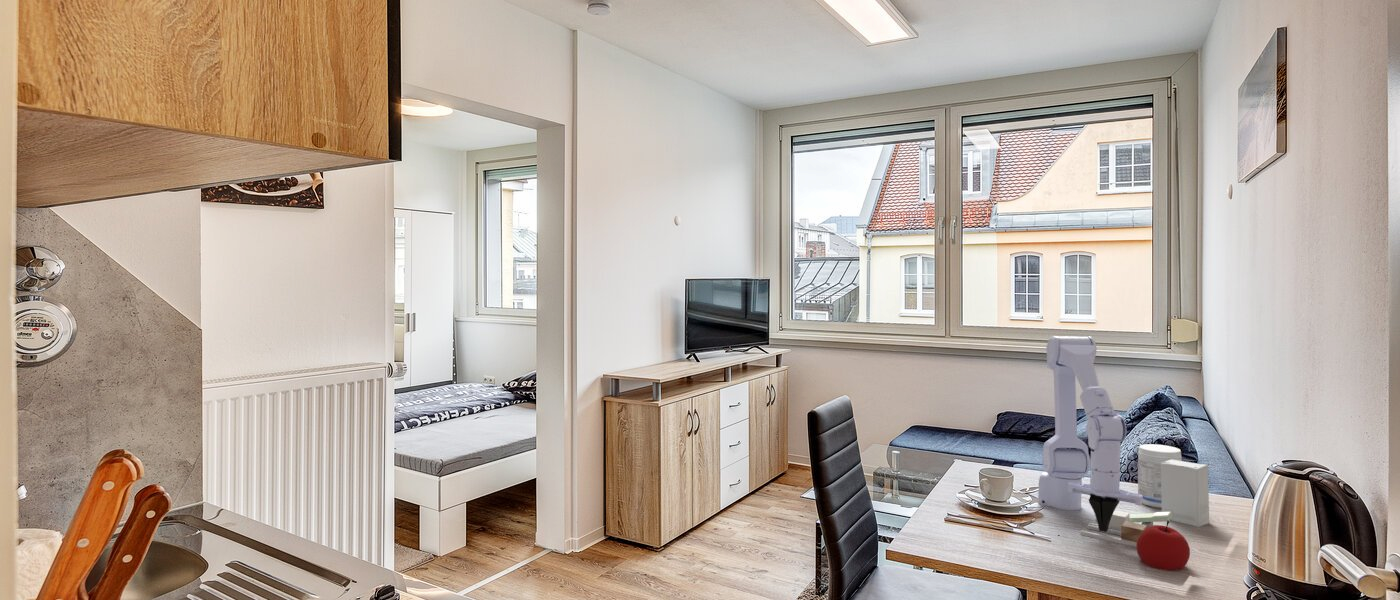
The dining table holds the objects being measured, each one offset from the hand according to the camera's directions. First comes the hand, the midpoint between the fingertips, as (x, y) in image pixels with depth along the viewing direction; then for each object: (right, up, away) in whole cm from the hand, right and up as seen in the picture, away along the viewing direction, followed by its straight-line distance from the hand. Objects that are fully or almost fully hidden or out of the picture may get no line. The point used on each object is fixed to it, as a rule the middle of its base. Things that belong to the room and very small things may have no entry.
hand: (1103, 530), depth 162 cm
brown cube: (+4, -1, -4) cm, 6 cm away
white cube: (+6, -1, +4) cm, 7 cm away
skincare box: (+25, -2, +11) cm, 27 cm away
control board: (+7, -2, +3) cm, 8 cm away
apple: (+3, -3, -16) cm, 17 cm away
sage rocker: (+13, +1, +5) cm, 13 cm away
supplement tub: (+29, -2, +27) cm, 40 cm away
